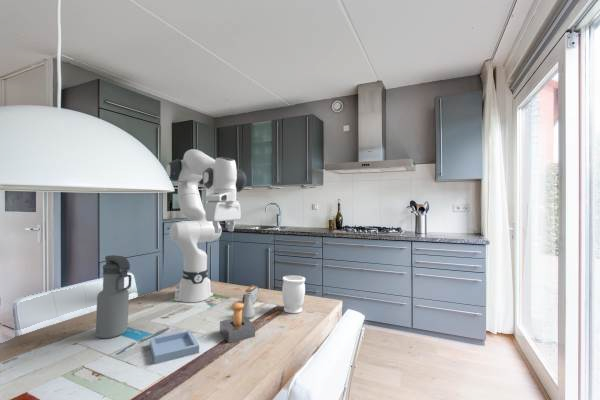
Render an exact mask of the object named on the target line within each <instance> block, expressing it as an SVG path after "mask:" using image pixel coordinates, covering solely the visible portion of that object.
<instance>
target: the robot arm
mask: <svg viewBox="0 0 600 400" xmlns="http://www.w3.org/2000/svg"><path fill="white" fill-rule="evenodd" d="M165 170H166V175H167V174H168V175H167V177H168V176H169V178H170V179H169V178H168V179H169V180H170V181H173V182H178V181H179V183H178V186H177V199H178V203H179V210H180V214H181V215H182V216H183V217H185V218H186V219H188V220H182V221H178V222H174V223H173V224H172V225H171V226H170V229H169V234H168V235H169V238H170V239H171V241H172V242H173V243H175V244H176V245H178V247H179V248H180V251H181V252H182V256H183V270H182V273H181V274H182V276H181V277H182V278H181V280H180V281H179V283H176V285H175V289H176V290H174V301H175V302H184V303H197V302H203V301H206V300H208V299H209V298H210V297H212V296H214V293H213V292H212V291H211V279H210V278H209V277H208V276H209V275H208V274H209V271H208V255H207V253H206V251H205V250H203V249H201V248H199V247H198V243H206V242H207V243H208V242H212V241H216V240H219V238H220V237H221V235H222V232H223V231H222V230H223V229H222V225H221V223H220V222H226V221H228V222H229V225H228V227H227V231H228V232H234V227H235V225H236V221H240V220H241V218H242V211H241V203H240V201H239V200H238V198H237V193H240V192H241V191H242V190H244V189H245V187H246V186H247V182H248V177H247V175H246V173H245V172H244V171H243V169H239V168H237V163H236V160H235V159H234V158H230V157H222V156H218V157H216V158H213V157H211V156H209V155H207V153H206V154H205V152H204V151H201V150H199V149H193V148H192V149H188V150H187V151H185V152H184V154H183V157H182V159H179V158H176V159H175V160H172V161H170V162H168V163H167V166H166V169H165ZM199 185H201V186H202V185H203V186H204V187H205V188H206V189H208V190H212V191H213V192H211V193H209V194H207V195H206V196H205V202H206V203H205V208H204V206H203V202H202V199H201V194H200V191H199Z"/></svg>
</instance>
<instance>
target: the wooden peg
mask: <svg viewBox="0 0 600 400" xmlns="http://www.w3.org/2000/svg"><path fill="white" fill-rule="evenodd" d="M242 308H244V304H243V303H242V302H234V303H232V305H231V309H233V318H232V319H233V326H234V327H236V326H240V325H241V323H242Z"/></svg>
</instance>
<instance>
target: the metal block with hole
mask: <svg viewBox="0 0 600 400" xmlns="http://www.w3.org/2000/svg"><path fill="white" fill-rule="evenodd" d="M219 333H220V334H221V335H222V336H223V338H224V339H225V341H227V343H228V344H229V343H230V342H231V343H235V342H239V341H242V340H246V339H249V338H254V337H256V325H255V324H254V323H253V322H252V321H251V320H250V319H247V318H246V317H245V316H243V317H242V323H241V325H240V326H236V327H234V326H233V318H229V319H225V320H220V321H219ZM234 341H235V342H234Z"/></svg>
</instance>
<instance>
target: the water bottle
mask: <svg viewBox="0 0 600 400" xmlns="http://www.w3.org/2000/svg"><path fill="white" fill-rule="evenodd" d="M104 261H106V262H105V264H104V265H102V275H103V276H102V290H100V292H99V293H97V297H96V315H95V316H96V321H95V335H96V337H97V338H99V339H113V338H116V337H119V336H122V335H124V334H125V333H126V332H127V330H128V327H129V326H128V325H129V324H128V322H129V299H130V298H129V297H130V296H129V295H130V294H129V293H130V292H129V289H130V288H131V287H132V275H131V274H128V271H129V270H130V268H131V265H130V262H129V260H128V258H127V257H125V256H123V255H122V256H121V255H116V254H115V255H114V254H113V255H106V256H105V259H104ZM125 278H128V285H127V286H126V287H125Z"/></svg>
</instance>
